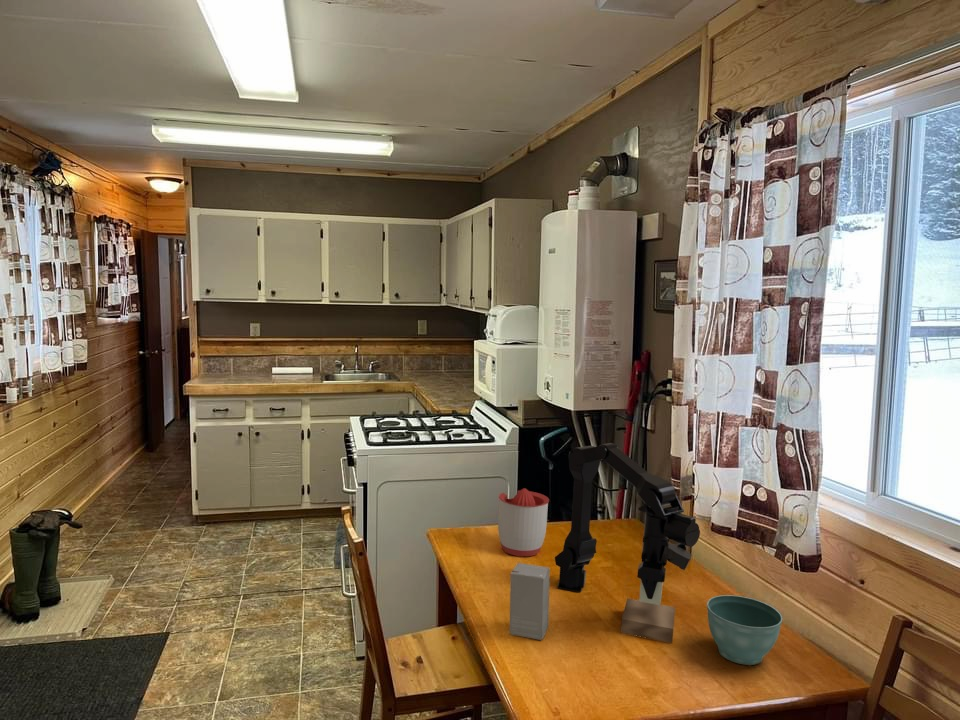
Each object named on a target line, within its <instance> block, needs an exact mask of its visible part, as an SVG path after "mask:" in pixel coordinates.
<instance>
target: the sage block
mask: <svg viewBox="0 0 960 720" xmlns="http://www.w3.org/2000/svg"><path fill="white" fill-rule="evenodd" d="M663 584H664V582H658V583H657V586H656V589H655V592H654V595H653V598H652V599H648V598H647V595H646V592H645V589H644V586H643V584H642V581H641V580H640V587H639V588H640V589H639V598H638V600H639V601H640V602H645V603H650V604H656V605H661V601H662V592H663Z"/></svg>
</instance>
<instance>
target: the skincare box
mask: <svg viewBox="0 0 960 720" xmlns="http://www.w3.org/2000/svg"><path fill="white" fill-rule="evenodd" d="M509 588H510V589H509V592H510V593H509V595H510V597H509V599H510V601H509V602H510V603H509V635H511V636H517V637H522V638H528V639H533V640H538V641H543V639H544V637H545V635H546V633H547V631H548V629H549V616H550V615H549V614H550V613H549V612H550V611H549V609H550V567H549V566H541V565H535V564H528V563H522V562H517V563H516V565H515V566H514V568H512V571H511V572H510V587H509Z"/></svg>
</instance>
